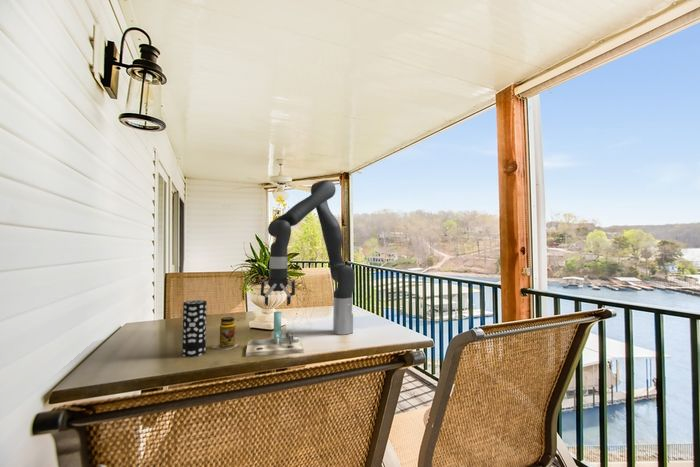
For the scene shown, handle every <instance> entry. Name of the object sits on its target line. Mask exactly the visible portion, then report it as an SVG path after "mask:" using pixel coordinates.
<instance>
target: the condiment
mask: <svg viewBox="0 0 700 467" xmlns="http://www.w3.org/2000/svg"><path fill="white" fill-rule="evenodd" d="M220 321H221V322H220V326H219V344H217V345H215V346H212V347H211V348H212V349H218V350H226V351H228V350H231V349H234V348H236V347H238V346H239V344H236V324H235V318H234V317H233V316H225V317H222V318H221V319H220Z"/></svg>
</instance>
